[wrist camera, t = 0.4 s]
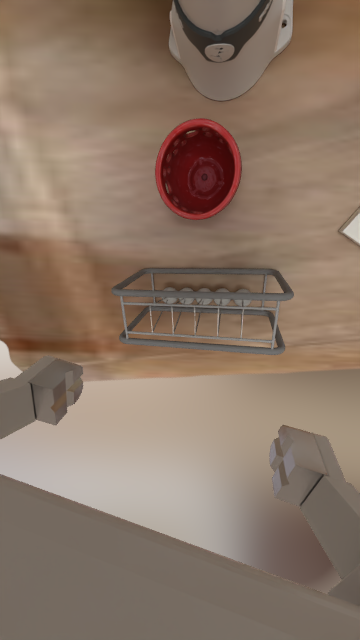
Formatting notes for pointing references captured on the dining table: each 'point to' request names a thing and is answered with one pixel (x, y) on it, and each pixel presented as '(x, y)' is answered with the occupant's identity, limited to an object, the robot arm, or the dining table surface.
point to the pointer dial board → (352, 227)
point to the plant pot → (198, 169)
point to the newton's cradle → (205, 308)
